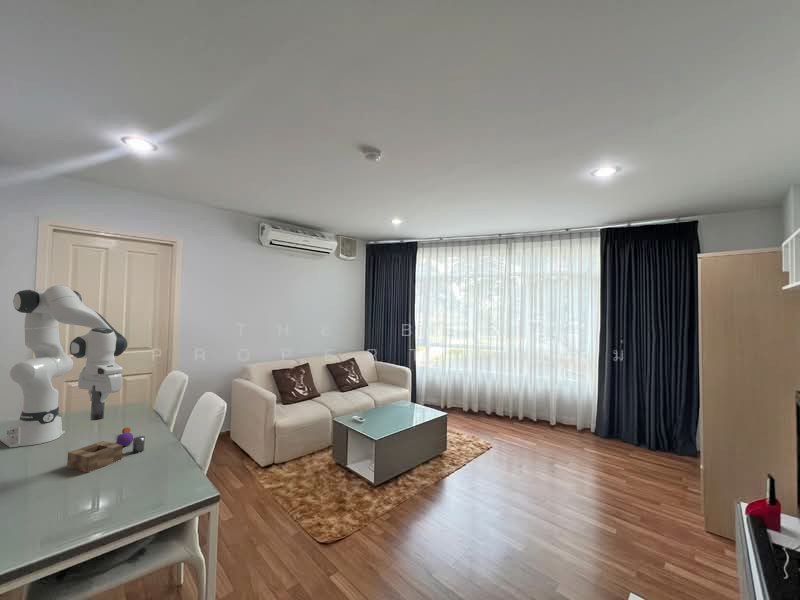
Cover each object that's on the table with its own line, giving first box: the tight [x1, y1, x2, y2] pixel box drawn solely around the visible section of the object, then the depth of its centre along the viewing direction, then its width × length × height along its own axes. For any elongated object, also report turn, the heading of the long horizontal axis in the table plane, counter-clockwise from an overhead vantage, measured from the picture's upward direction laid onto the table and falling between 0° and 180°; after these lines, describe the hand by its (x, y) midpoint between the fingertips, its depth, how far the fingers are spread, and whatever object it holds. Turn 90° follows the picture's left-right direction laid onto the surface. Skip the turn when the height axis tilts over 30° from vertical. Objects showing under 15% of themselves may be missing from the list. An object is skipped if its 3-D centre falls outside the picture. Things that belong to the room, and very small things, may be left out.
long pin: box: [90, 385, 106, 421], centre depth 134 cm, size 4×4×14 cm
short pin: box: [132, 435, 146, 454], centre depth 146 cm, size 4×4×6 cm
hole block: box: [66, 440, 124, 473], centre depth 133 cm, size 12×12×6 cm
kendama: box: [116, 426, 134, 447], centre depth 156 cm, size 6×6×20 cm
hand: (98, 401), depth 134 cm, fingers closed on long pin, 4 cm apart
